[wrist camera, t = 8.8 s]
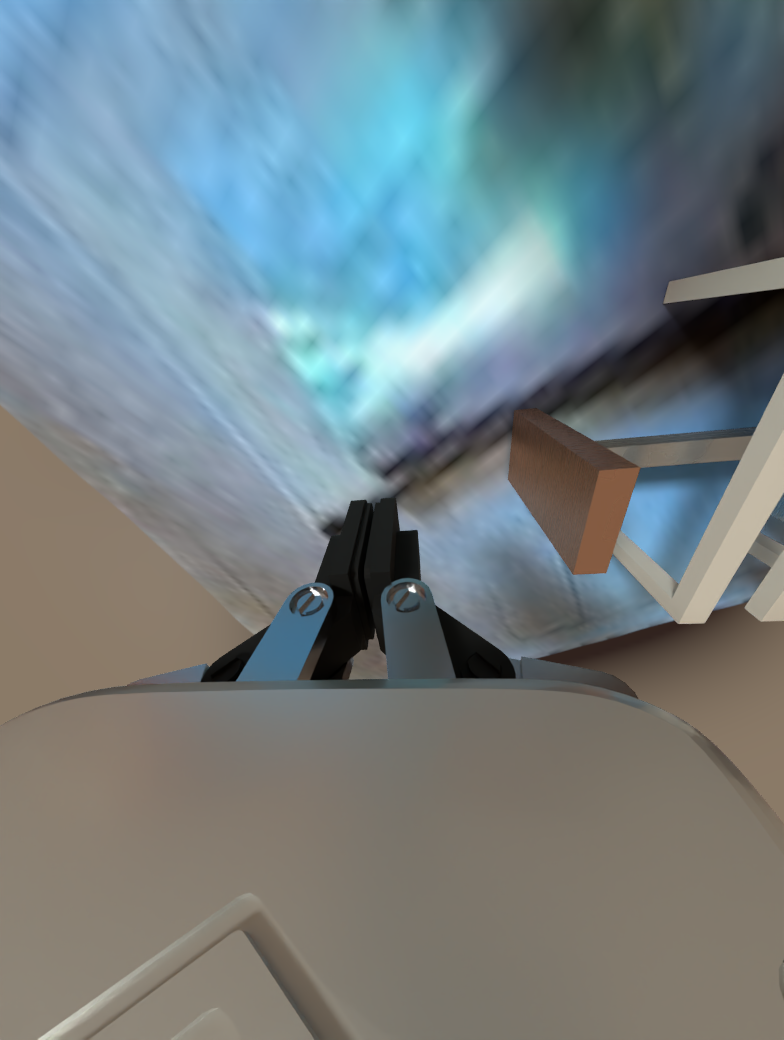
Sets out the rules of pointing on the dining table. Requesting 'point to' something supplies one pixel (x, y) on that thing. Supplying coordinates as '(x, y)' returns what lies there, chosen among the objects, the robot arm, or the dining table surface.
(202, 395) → the dining table surface
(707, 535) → the white slatted rack
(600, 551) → the rod with wooden block
